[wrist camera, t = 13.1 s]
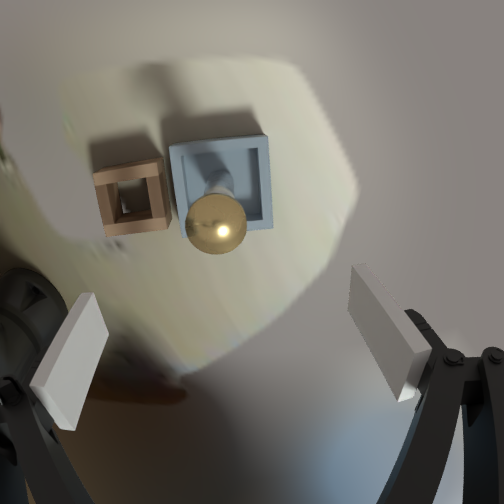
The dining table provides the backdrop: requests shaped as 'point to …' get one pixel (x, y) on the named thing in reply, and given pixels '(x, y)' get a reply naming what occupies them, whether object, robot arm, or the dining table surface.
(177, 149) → the tray
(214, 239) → the pin
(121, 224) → the block
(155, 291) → the dining table surface
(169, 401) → the dining table surface
